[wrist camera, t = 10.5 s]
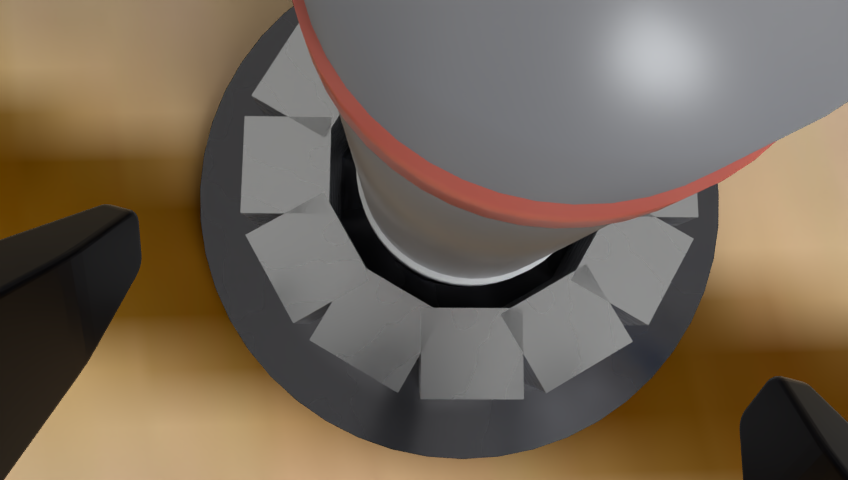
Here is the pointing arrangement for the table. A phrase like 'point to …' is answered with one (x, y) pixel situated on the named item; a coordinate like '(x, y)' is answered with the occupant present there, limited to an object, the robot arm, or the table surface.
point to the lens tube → (558, 112)
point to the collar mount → (424, 288)
